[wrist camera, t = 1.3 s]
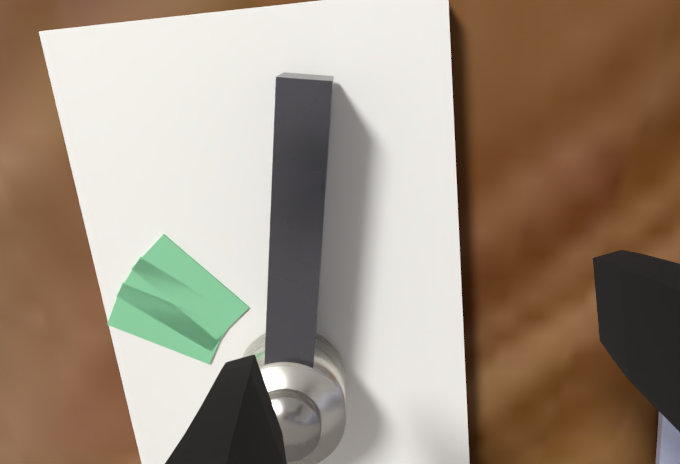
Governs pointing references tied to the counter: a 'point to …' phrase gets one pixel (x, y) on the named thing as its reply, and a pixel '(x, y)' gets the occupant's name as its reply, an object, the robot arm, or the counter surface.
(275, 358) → the dial pointer
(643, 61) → the counter surface
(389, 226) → the dial board
